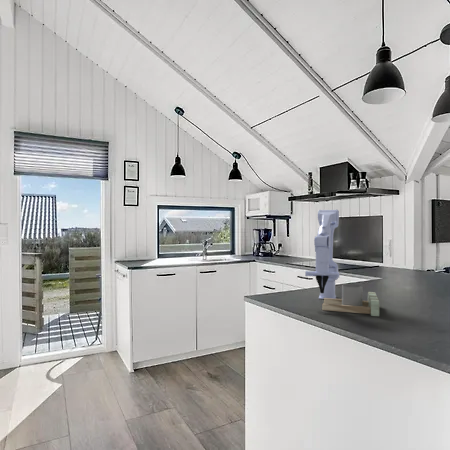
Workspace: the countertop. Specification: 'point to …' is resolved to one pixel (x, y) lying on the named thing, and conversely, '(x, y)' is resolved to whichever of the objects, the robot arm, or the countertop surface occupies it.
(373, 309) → the wooden tray
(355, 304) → the cup
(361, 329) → the countertop surface
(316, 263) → the robot arm
